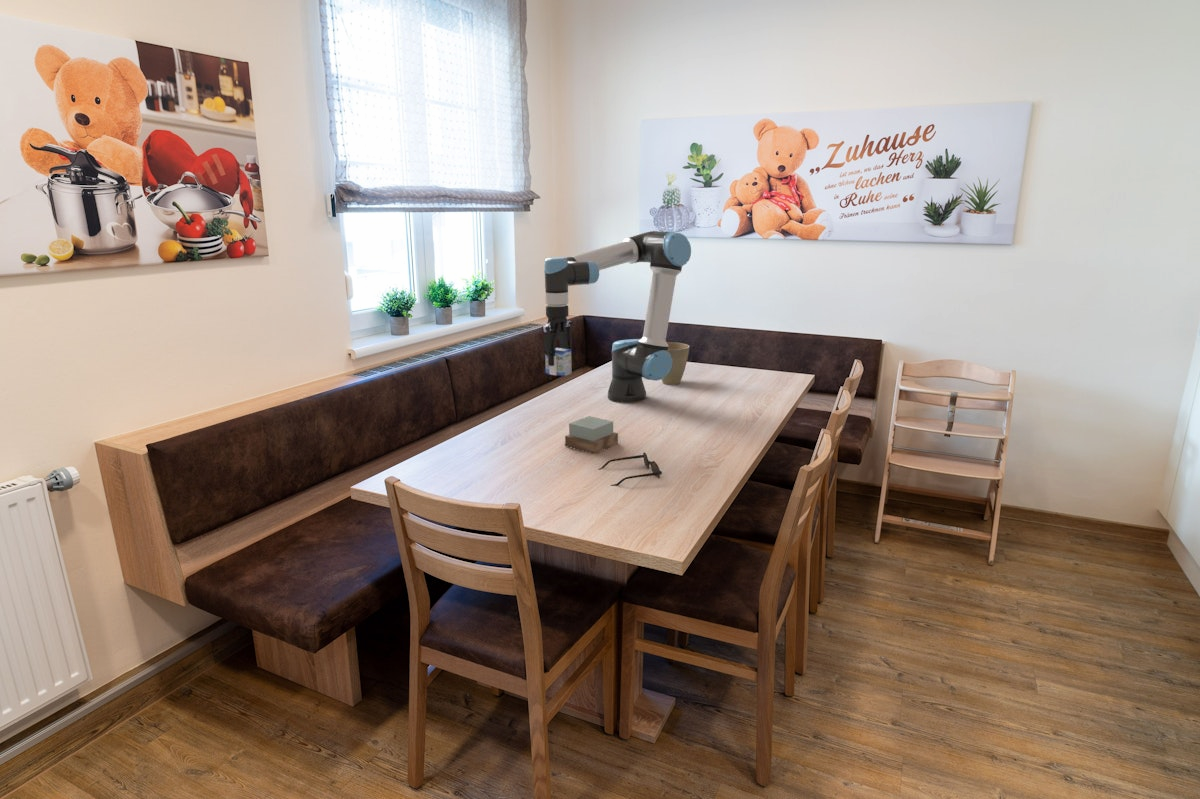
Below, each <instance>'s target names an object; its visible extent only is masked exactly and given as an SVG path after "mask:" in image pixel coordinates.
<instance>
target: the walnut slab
mask: <svg viewBox="0 0 1200 799" xmlns="http://www.w3.org/2000/svg"><path fill="white" fill-rule="evenodd" d="M564 438H565V441H564V445H565V446H568V447H567V448H569V447H572V448H571V449H573V448H575V449H574V450H577V449H579V450H578V451H581V450H584V451H583V452H585V451H587V452H586V453H589V452H591V453H590V454H593V453H595V454H594V455H596V453H597V454H599V453H601V452H603V451H604V449H605V450H607V449H610V448H612V447H614V446H615V444H616V445H618V444H619V433H618V432H615V431H613V434H611V435H608V436H606V437H603V438H601V439H599V440H596V441H590V440H586V439H582V438H578V437H574V436H570V435H569V434H567V435H565V437H564ZM617 443H618V444H617ZM613 445H614V446H613ZM611 446H612V447H611ZM602 450H603V451H602ZM600 451H601V452H600ZM598 452H599V453H598Z"/></svg>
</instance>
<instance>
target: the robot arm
mask: <svg viewBox="0 0 1200 799" xmlns="http://www.w3.org/2000/svg"><path fill="white" fill-rule="evenodd" d="M691 254H692V246H691V242H690V241H689V240H688V238H687V236H685V235H684V234H683V233H681V232H676V231H657V230H656V231H655V230H653V231H651V230H650V231H647V232H643V233H640V234H636V235H633V236H630V237H626V238H625V239H623V240H622V242H618V243H616V244H611V245H608V246H607V245H606V246H605V247H604V246H603V247H600V248H596V249H592V250H590V251H586V252H581V253H578V254H575V255H572V256H568V257H567V256H566V257H562V256H554V257H552V256H551V257H547V258H546V259H545V260H544V281H545V282H544V288H545V304H546V306H545V316H546V318H547V323H546V324H545V325H542V326H541V331H542V343H543V344H542V348H543V350H542V351H543V353H542V354H543V355H544V356H545V355H547V356H548V364H549V374H548V375H551V376H558V375H557V356H555V349H556V348H557V340H559V345H560V348H564V349H571V351H572V350H573V324H574V322H573V320H572V321H571V320H568V319H567V317H568V316H569V306H568V304H569V287H571V286H582V285H592V284H596V283H597V282H598V281H599V277H600V271H602V270H606V269H609V268H612V267H613V268H614V267H617V266H619V265H624V264H627V263H628V264H631V265H633V264H637V263H650V265H649V268H650V270H651V271H652V276H651V277H652V278H651V283H650V284H651V285H650V288H649V289H650V290H649V297H648V301H647V302H648V303H647V308H646V314H645V319H644V320H645V322H644V326H643V334H642V337H641V338H632V339H631V338H630V339H622V340H616V341H614V342H613V343H612V348H611V371H612V372H611V375H612V376H611V381H610V385H609V387H608V391H607V398H608V399H609V401H612V402H617V403H625V404H626V403H638V402H643V401H645V400H646V398H647V391H646V388H645V385H644V382H643V379H645V380H649V381H660V380H661V381H662V379H663V378H664V377H665V376H666V375H667V374H668V373H669V372H670V370H671V367H672V357H671V355H670V353H669V352H668V347H669V345H668V344H667V343H668V342H667V334H668V333H667V332H668V330H669V329H668V327H669V321H670V315H671V309H672V303H673V299H674V298H673V297H674V293H675V286H676V280H677V276H678V275H679V274H681V273H682V269H683V266H685V265H687V264H688V262H689V261H690V259H691ZM551 352H552V353H551Z"/></svg>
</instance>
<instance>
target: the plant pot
mask: <svg viewBox="0 0 1200 799" xmlns="http://www.w3.org/2000/svg"><path fill="white" fill-rule="evenodd" d="M667 344H668V345H669V347H668V352H669V353H670V355H671V357H672V367H671V370H670V372H669V373H668V374H667V375H666V376H665V377H664V378H663V379H661V382H662V384H664V385H669V386H670V385H671V386H675V385H679V384H681V381H682V378H683V376H684V373H685V370H686V367H687V362H688V357H689V353H690V345H689V344H687V343H681V342H667Z"/></svg>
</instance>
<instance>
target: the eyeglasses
mask: <svg viewBox="0 0 1200 799" xmlns="http://www.w3.org/2000/svg"><path fill="white" fill-rule="evenodd" d="M642 458H643V462H644V466H645V467H646V469H647V470H649V469H650V468H651V472H649V473H643V474H636V475H631V476H627V477H624V478H622V479H620V481H618V482H617V483H614V484H610V487H611V486H614V487H615V486H619V485H620V484H622V483H623V482H624V481H626V480H629V479H635V478H636V479H638V478H645V477H652V476H655V477H656V478H657V479H660V478H661V475H663V471H661V469H660V468H659V465H658V463H657V462H656V461H655V460H651V461H650V460H649V458H648V456H647V452H643V453H642V454H639V455H632V456H625V457H619V458H614V459H613V458H612V459H610V460H608V461H606V462H605V463H604V464H603V465H602V466H601V467H600V468H598V470H599V471H600V470H602V468H603V469H604V468H605V467H606V466H607V465H609V463H611V462H618V461H626V460H634V459H642Z"/></svg>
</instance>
